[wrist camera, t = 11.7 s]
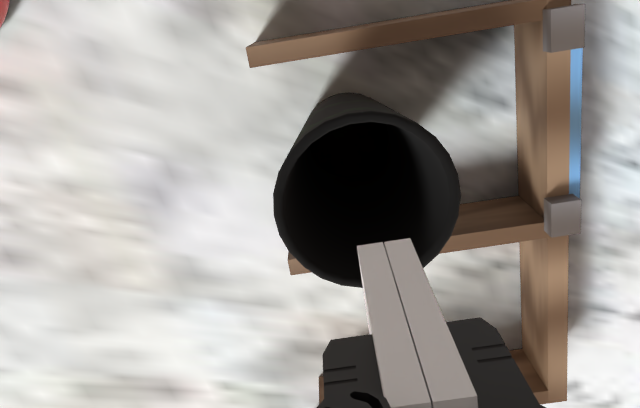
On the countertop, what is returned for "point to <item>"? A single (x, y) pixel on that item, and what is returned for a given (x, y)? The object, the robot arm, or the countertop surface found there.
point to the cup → (363, 187)
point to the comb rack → (532, 151)
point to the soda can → (3, 10)
